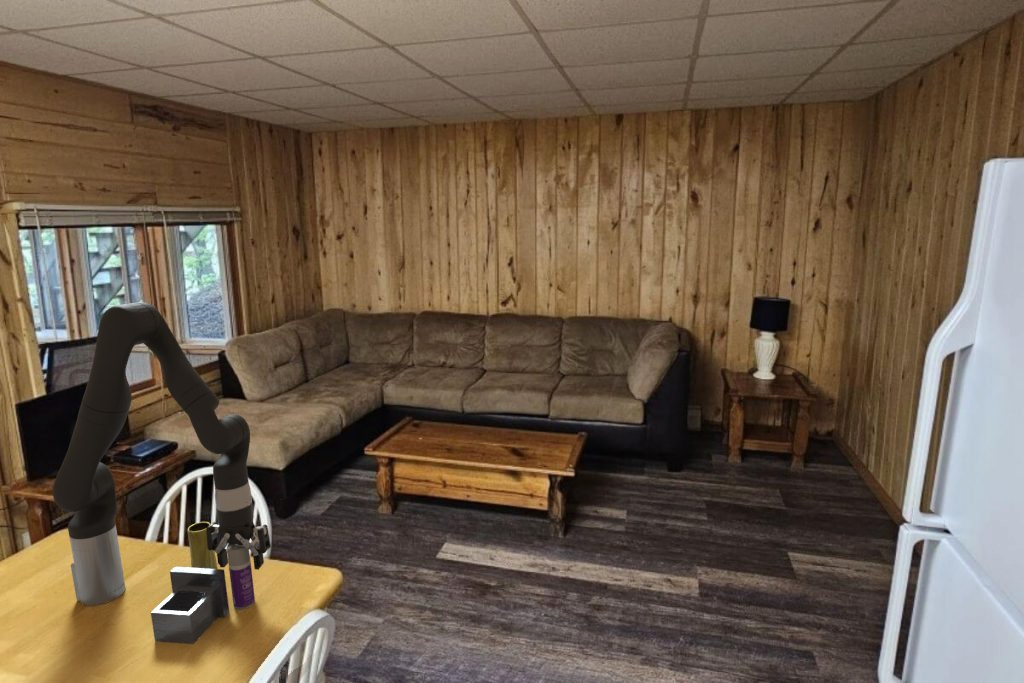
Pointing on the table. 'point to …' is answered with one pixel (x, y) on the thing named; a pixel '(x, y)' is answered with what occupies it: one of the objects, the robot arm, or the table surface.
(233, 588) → the container
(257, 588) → the table surface
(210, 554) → the vase
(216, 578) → the cup bracket
